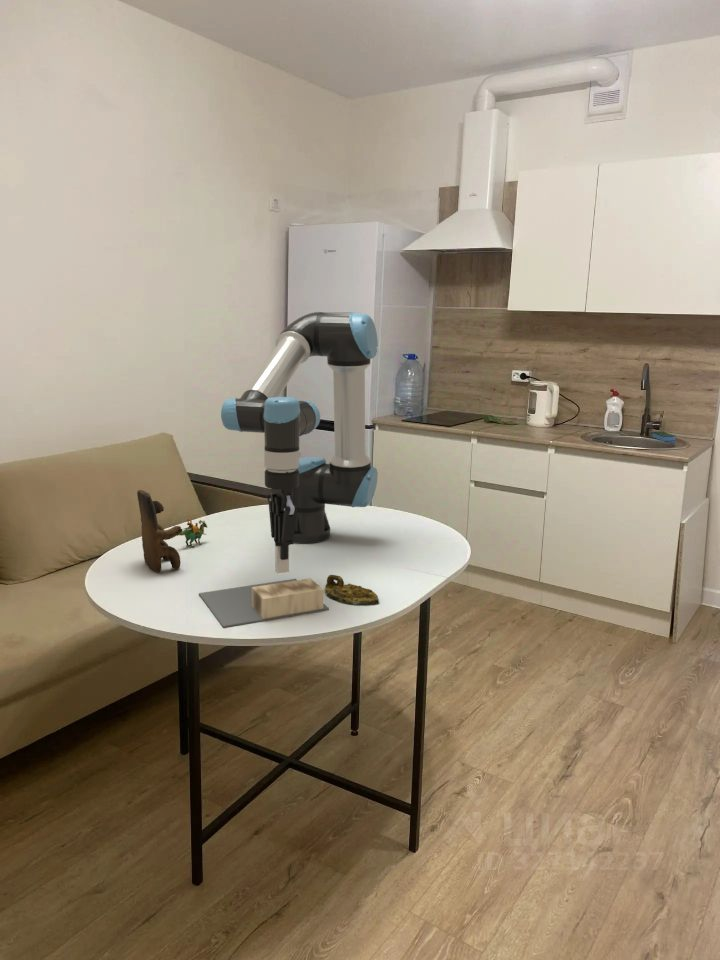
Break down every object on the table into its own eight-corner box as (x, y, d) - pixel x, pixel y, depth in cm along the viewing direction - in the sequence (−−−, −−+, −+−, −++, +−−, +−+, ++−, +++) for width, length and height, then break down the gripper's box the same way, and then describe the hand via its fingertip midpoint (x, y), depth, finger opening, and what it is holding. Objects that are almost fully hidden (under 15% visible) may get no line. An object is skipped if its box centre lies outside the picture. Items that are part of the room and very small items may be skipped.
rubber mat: (295, 580, 179) (295, 578, 179) (328, 609, 162) (328, 608, 161) (198, 594, 168) (198, 593, 168) (223, 628, 151) (223, 626, 151)
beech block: (251, 587, 160) (310, 578, 167) (251, 606, 161) (310, 596, 168) (262, 599, 154) (323, 589, 160) (263, 618, 155) (323, 608, 161)
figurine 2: (211, 542, 207) (210, 514, 205) (177, 552, 197) (176, 523, 195) (203, 540, 208) (203, 513, 207) (170, 550, 199) (169, 521, 197)
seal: (388, 602, 170) (335, 588, 177) (390, 583, 169) (336, 569, 177) (368, 611, 162) (313, 596, 170) (370, 591, 161) (315, 576, 169)
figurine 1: (188, 569, 184) (180, 492, 179) (159, 577, 180) (150, 498, 175) (167, 556, 194) (159, 482, 189) (139, 563, 190) (130, 488, 185)
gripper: (309, 473, 154) (308, 578, 159) (287, 462, 165) (287, 560, 171) (276, 476, 151) (276, 583, 156) (255, 464, 162) (256, 564, 167)
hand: (282, 571), depth 163 cm, fingers closed
